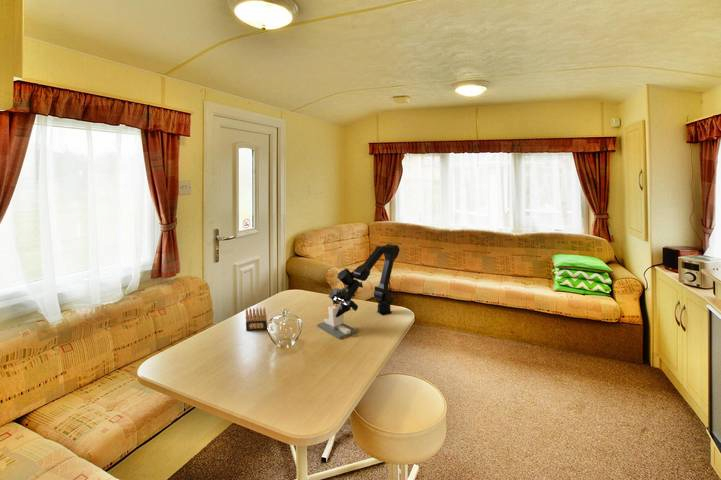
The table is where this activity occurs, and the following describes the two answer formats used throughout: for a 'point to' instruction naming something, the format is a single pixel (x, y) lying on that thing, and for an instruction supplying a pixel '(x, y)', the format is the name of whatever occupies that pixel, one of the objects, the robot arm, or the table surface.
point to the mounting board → (337, 329)
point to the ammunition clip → (256, 320)
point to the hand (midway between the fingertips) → (333, 315)
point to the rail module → (332, 316)
